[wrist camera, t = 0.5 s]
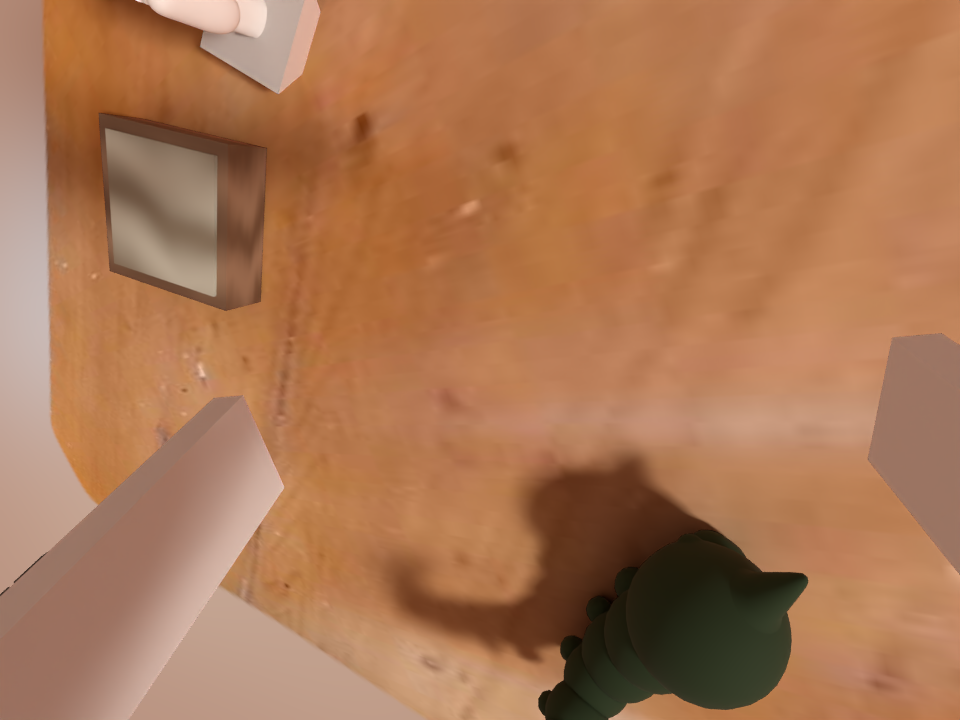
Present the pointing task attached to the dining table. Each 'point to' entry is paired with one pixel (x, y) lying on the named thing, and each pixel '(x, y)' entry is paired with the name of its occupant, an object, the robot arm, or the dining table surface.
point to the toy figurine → (680, 633)
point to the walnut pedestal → (184, 210)
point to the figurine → (251, 34)
